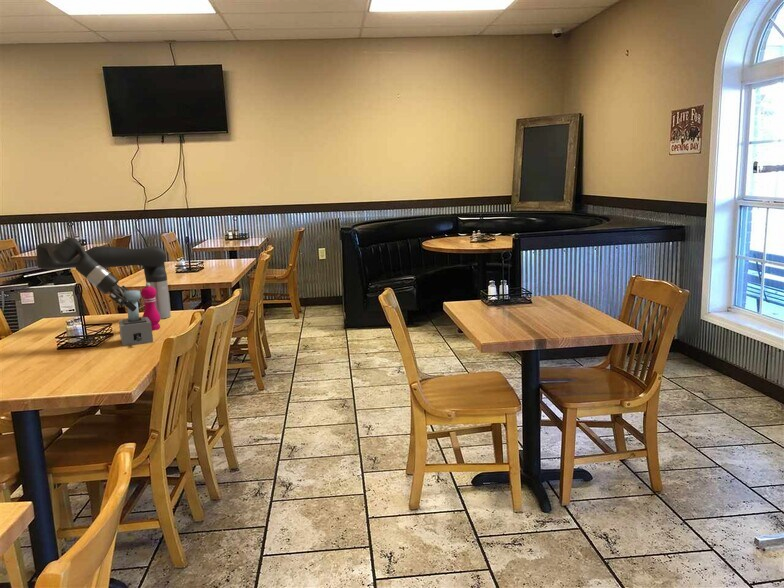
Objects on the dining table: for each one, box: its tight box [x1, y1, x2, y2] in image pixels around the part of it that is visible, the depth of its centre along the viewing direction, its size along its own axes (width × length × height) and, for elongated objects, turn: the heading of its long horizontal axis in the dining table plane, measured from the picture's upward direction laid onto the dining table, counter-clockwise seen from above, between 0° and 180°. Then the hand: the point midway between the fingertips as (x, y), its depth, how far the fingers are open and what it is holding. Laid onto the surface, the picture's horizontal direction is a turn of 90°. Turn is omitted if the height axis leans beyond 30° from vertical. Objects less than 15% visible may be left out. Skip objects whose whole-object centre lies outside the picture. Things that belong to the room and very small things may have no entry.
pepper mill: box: [140, 283, 161, 331], centre depth 268 cm, size 7×7×20 cm
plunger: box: [134, 333, 141, 341], centre depth 245 cm, size 8×2×2 cm, turn 27°
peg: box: [123, 289, 142, 321], centre depth 248 cm, size 6×6×11 cm
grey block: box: [118, 316, 154, 347], centre depth 250 cm, size 11×11×9 cm
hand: (137, 307), depth 248 cm, fingers closed on peg, 6 cm apart
